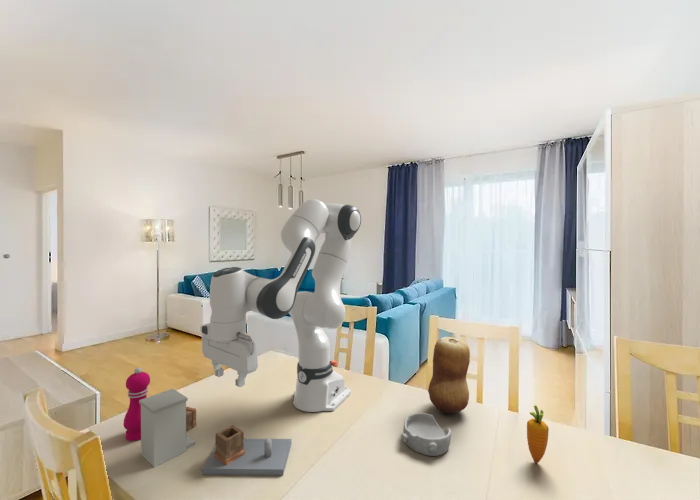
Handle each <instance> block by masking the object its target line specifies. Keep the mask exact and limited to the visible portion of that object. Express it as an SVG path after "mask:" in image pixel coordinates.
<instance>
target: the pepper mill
mask: <svg viewBox="0 0 700 500" xmlns="http://www.w3.org/2000/svg"><path fill="white" fill-rule="evenodd" d="M142 370H143V369H142V368H141V367H136V368H135V369H134V373H132V374H130V375H129V376H128V377H127V378H126V380H125V381H126V382H125V388H126V389H127V391H128V392H127V393H128V394H127V397H128V398H129V405H128V408H127V411H126V413H125V416H124V419H123V428H124V430H126V431H125V439H126V440H127V441H129V442H133V441H134V442H136V441H139V440H140V441H141V404H140V403H139V400H141V399H144V398H147V397H148V396H147V395H148V394H149V387H148V386H149V385H150V383H151V377H150V375H149V373H147V372H145V371H142Z"/></svg>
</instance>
